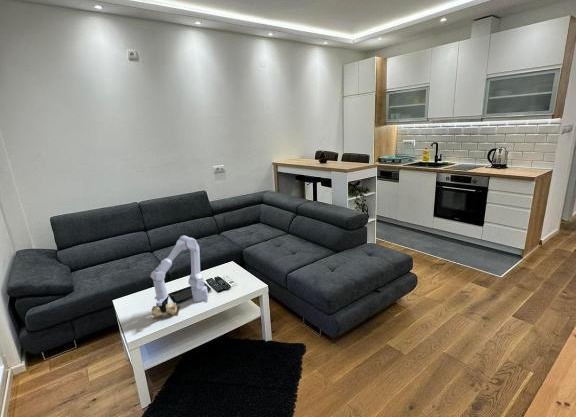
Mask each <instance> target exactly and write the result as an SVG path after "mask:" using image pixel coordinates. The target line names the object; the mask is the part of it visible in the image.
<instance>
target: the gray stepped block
mask: <svg viewBox="0 0 576 417" xmlns="http://www.w3.org/2000/svg"><path fill="white" fill-rule="evenodd" d="M170 315H171V313H168V314H162V315H161V319H166V317H167V318H171V317H170Z"/></svg>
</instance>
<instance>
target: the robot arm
mask: <svg viewBox="0 0 576 417" xmlns="http://www.w3.org/2000/svg"><path fill="white" fill-rule="evenodd" d="M186 250H190V269H191V271H190V272H191V274H190V275H189V278H188V285H189V286H190V289H191V293H192V299H193V302H194V303H199V302H204V303H207V302H208V301H209V292H208V287H207V285H205V281H204V278H203V275H202V274H201V257H200V256H201V254H200V252H201V251H200V245H199V244H198V242H197V239H195V238H194V237H191V236H190V237H189V236H187V235H181V236H180V237H179V239H178V240H176V243H175V246H174V247H173V248H172V250H171V252H170V253H169V254H168V256H167V257H166V258H163V260H161V261H160V263H159V264H158V266H157V267H156V268H155V269H154V270H153V271H152V272H151V273H150V276H149V277H150V278H151V279H152V281H153V287H154V291H155V297H154V300H156V301H157V302H156V304H155V306H158V307H159V308H160V310H161V312H162V313H165V312H166V304H169V303H168V302H169V297H170V295H169V294H168V292H167V287H166V282H165V278H166V273H167V272H168V271H169V269H170V268H171V267H172V265H173V261H174V259H175V258H177V256H178V255H179V253H181V252H182V251H186Z"/></svg>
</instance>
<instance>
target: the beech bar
mask: <svg viewBox="0 0 576 417" xmlns="http://www.w3.org/2000/svg"><path fill="white" fill-rule="evenodd" d="M177 306H178V305H177V303H176V302H171V303H168V304H166V312H165V313H162V312H161V310H160V308H159V307H158V306H157V305H154V306H152V309H151V314H152V317H154V316H156V315H162V314H168V313H174V312H176V310H177Z"/></svg>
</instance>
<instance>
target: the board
mask: <svg viewBox="0 0 576 417" xmlns="http://www.w3.org/2000/svg"><path fill="white" fill-rule="evenodd" d="M176 306H177V310H176V312H174V313H171V315H170V317H169V318H172V317H173V318H174V317H178V316H179V312H180V309H181V305H176ZM166 318H168V317H166ZM166 318H165V319H166ZM160 319H162V318H161V315H156V316H153V319H152V320H153V321H154V320H160Z"/></svg>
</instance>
